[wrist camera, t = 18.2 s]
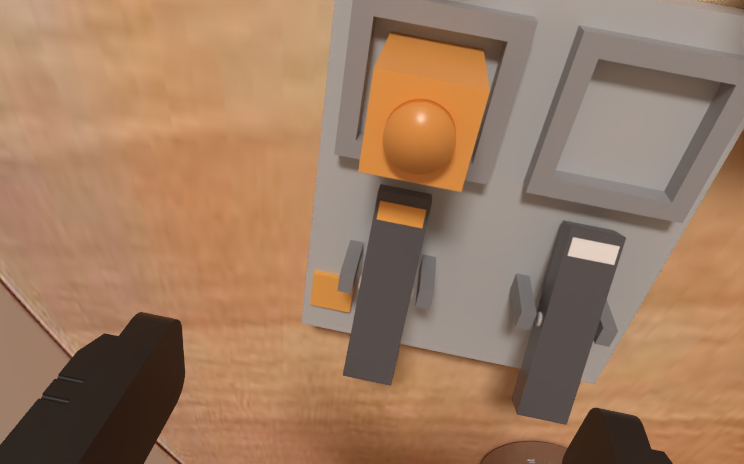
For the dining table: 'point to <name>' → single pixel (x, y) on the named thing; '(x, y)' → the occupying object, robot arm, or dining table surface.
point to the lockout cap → (424, 111)
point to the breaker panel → (532, 158)
